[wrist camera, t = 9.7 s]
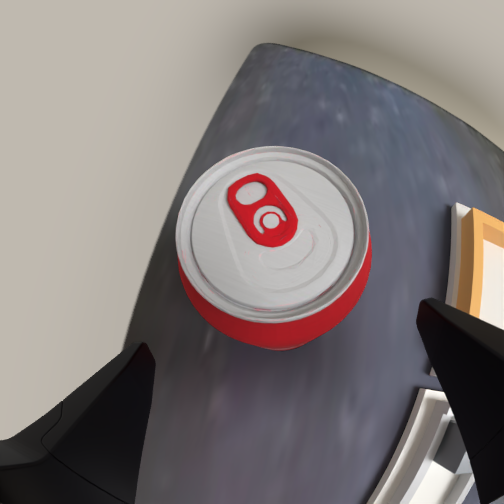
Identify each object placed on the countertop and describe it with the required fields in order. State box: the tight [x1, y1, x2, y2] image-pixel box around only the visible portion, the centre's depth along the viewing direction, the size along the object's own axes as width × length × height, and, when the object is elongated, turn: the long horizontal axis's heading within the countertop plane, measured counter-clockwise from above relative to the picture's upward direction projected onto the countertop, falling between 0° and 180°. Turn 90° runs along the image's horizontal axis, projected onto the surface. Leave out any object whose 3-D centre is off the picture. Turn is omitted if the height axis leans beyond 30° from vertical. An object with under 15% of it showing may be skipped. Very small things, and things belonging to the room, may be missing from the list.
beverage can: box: [176, 146, 372, 351], centre depth 13 cm, size 6×6×12 cm
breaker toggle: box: [433, 420, 473, 474], centre depth 10 cm, size 3×4×4 cm
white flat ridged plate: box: [366, 388, 475, 504], centre depth 10 cm, size 12×9×3 cm
